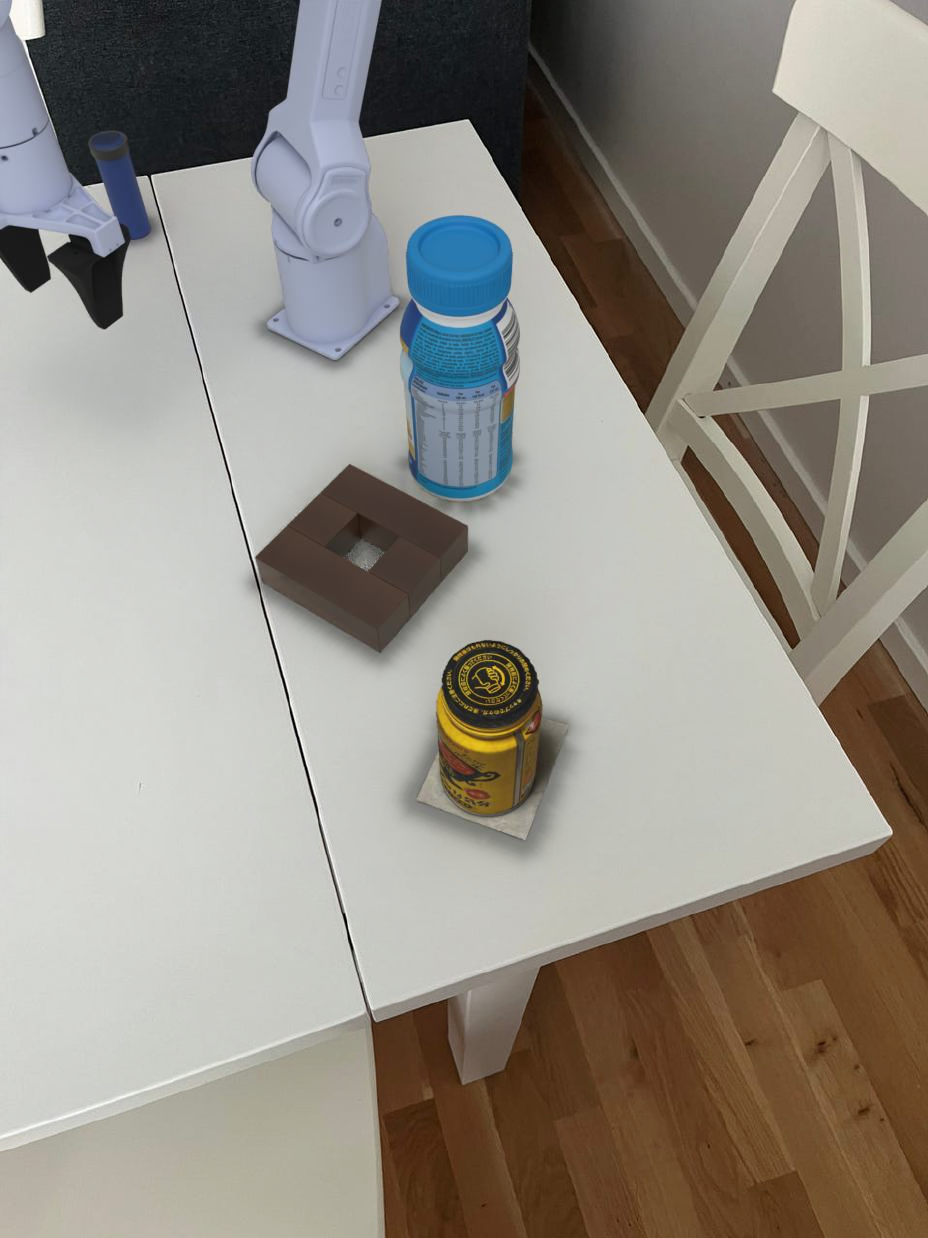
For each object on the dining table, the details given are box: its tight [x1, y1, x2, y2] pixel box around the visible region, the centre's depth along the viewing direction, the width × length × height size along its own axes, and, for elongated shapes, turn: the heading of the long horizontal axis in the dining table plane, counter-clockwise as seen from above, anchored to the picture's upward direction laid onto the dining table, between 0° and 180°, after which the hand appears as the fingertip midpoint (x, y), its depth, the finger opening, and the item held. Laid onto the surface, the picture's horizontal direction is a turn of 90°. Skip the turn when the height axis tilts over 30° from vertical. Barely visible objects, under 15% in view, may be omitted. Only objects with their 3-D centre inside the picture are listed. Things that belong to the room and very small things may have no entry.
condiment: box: [415, 639, 570, 841], centre depth 58 cm, size 7×8×12 cm
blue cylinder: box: [87, 130, 152, 240], centre depth 92 cm, size 3×3×9 cm
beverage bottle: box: [399, 214, 521, 502], centre depth 70 cm, size 8×8×20 cm
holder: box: [254, 463, 469, 653], centre depth 71 cm, size 11×11×3 cm
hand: (73, 302), depth 74 cm, fingers open, 7 cm apart
